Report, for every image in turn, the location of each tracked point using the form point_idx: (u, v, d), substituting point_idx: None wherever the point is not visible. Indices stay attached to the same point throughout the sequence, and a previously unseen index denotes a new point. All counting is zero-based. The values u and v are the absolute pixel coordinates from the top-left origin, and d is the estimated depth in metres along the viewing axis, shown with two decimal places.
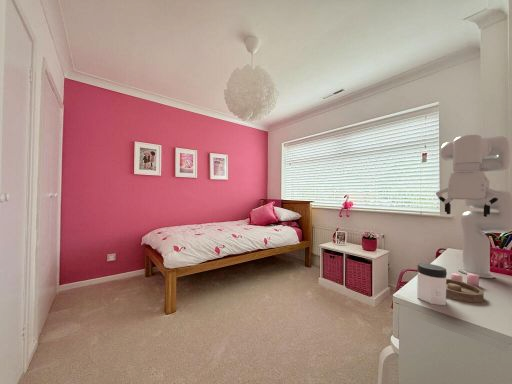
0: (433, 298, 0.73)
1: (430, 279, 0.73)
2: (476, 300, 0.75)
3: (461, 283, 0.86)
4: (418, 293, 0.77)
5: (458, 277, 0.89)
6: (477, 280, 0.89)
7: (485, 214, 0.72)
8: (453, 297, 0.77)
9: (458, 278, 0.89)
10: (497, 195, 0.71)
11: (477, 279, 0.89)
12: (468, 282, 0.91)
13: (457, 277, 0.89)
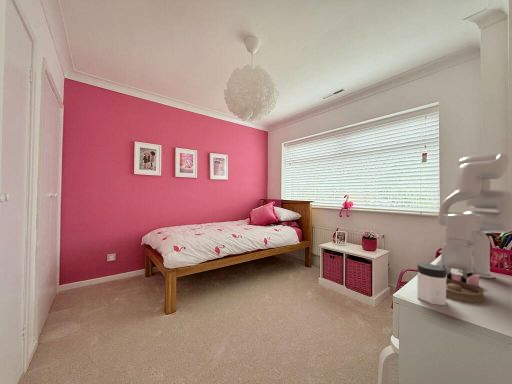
0: (433, 298, 0.73)
1: (430, 279, 0.73)
2: (476, 300, 0.75)
3: (461, 283, 0.86)
4: (418, 293, 0.77)
5: (458, 277, 0.89)
6: (477, 280, 0.89)
7: None
8: (453, 297, 0.77)
9: (458, 278, 0.89)
10: (474, 272, 0.86)
11: (477, 279, 0.89)
12: (468, 282, 0.91)
13: (457, 277, 0.89)
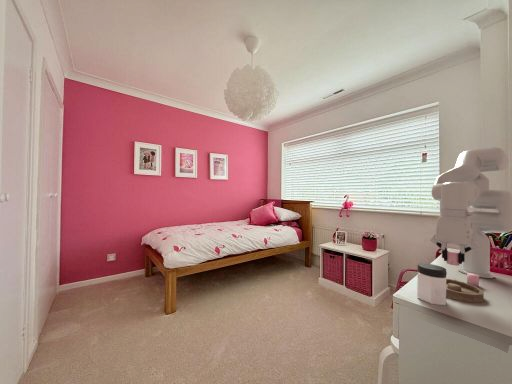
0: (433, 298, 0.73)
1: (430, 279, 0.73)
2: (476, 300, 0.75)
3: (461, 283, 0.86)
4: (418, 293, 0.77)
5: (455, 254, 0.79)
6: (477, 280, 0.89)
7: (460, 262, 0.78)
8: (453, 297, 0.77)
9: (455, 256, 0.79)
10: (473, 246, 0.76)
11: (477, 279, 0.89)
12: (468, 282, 0.91)
13: (453, 254, 0.79)
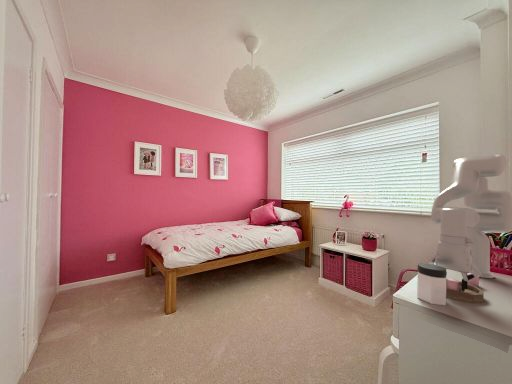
0: (433, 298, 0.73)
1: (430, 279, 0.73)
2: (476, 300, 0.75)
3: (461, 283, 0.86)
4: (418, 293, 0.77)
5: (454, 283, 0.78)
6: (477, 280, 0.89)
7: (463, 289, 0.77)
8: (453, 297, 0.77)
9: (455, 285, 0.78)
10: (476, 274, 0.75)
11: (477, 279, 0.89)
12: (468, 282, 0.91)
13: (453, 283, 0.79)
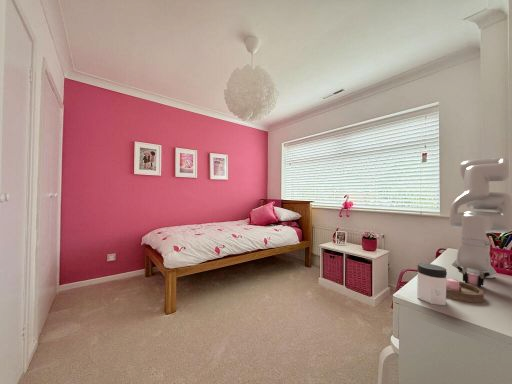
0: (433, 298, 0.73)
1: (430, 279, 0.73)
2: (476, 300, 0.75)
3: (461, 283, 0.86)
4: (418, 293, 0.77)
5: (454, 283, 0.78)
6: (477, 280, 0.89)
7: (479, 285, 0.88)
8: (453, 297, 0.77)
9: (455, 285, 0.78)
10: (491, 272, 0.87)
11: (477, 279, 0.89)
12: (468, 282, 0.91)
13: (453, 283, 0.79)
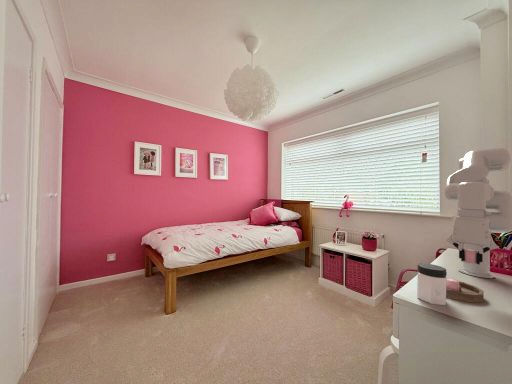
0: (433, 298, 0.73)
1: (430, 279, 0.73)
2: (476, 300, 0.75)
3: (461, 283, 0.86)
4: (418, 293, 0.77)
5: (454, 283, 0.78)
6: (475, 256, 0.78)
7: (478, 262, 0.77)
8: (453, 297, 0.77)
9: (455, 285, 0.78)
10: (492, 246, 0.75)
11: (475, 255, 0.78)
12: (465, 259, 0.80)
13: (453, 283, 0.79)
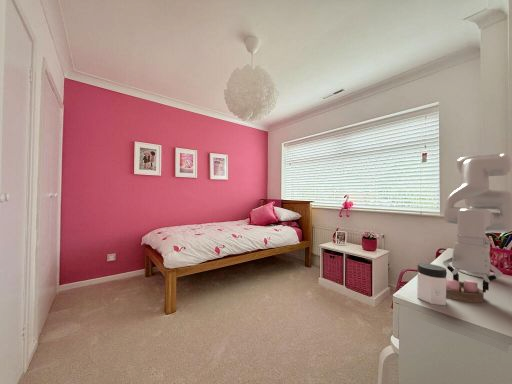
0: (433, 298, 0.73)
1: (430, 279, 0.73)
2: (476, 300, 0.75)
3: (461, 283, 0.86)
4: (418, 293, 0.77)
5: (454, 283, 0.78)
6: (475, 288, 0.78)
7: (484, 290, 0.76)
8: (453, 297, 0.77)
9: (455, 285, 0.78)
10: (497, 274, 0.74)
11: (475, 287, 0.78)
12: (465, 290, 0.80)
13: (453, 283, 0.79)
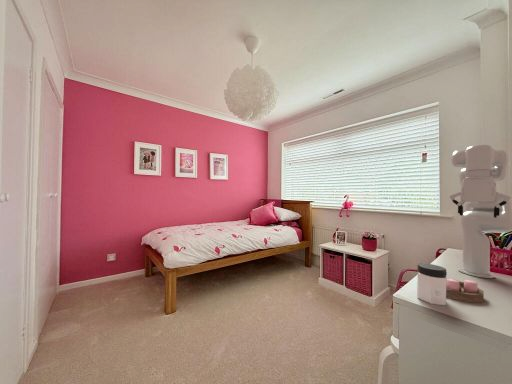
0: (433, 298, 0.73)
1: (430, 279, 0.73)
2: (476, 300, 0.75)
3: (461, 283, 0.86)
4: (418, 293, 0.77)
5: (454, 283, 0.78)
6: (475, 289, 0.78)
7: (495, 215, 0.82)
8: (453, 297, 0.77)
9: (455, 285, 0.78)
10: (506, 198, 0.81)
11: (475, 287, 0.78)
12: (465, 290, 0.80)
13: (453, 283, 0.79)
